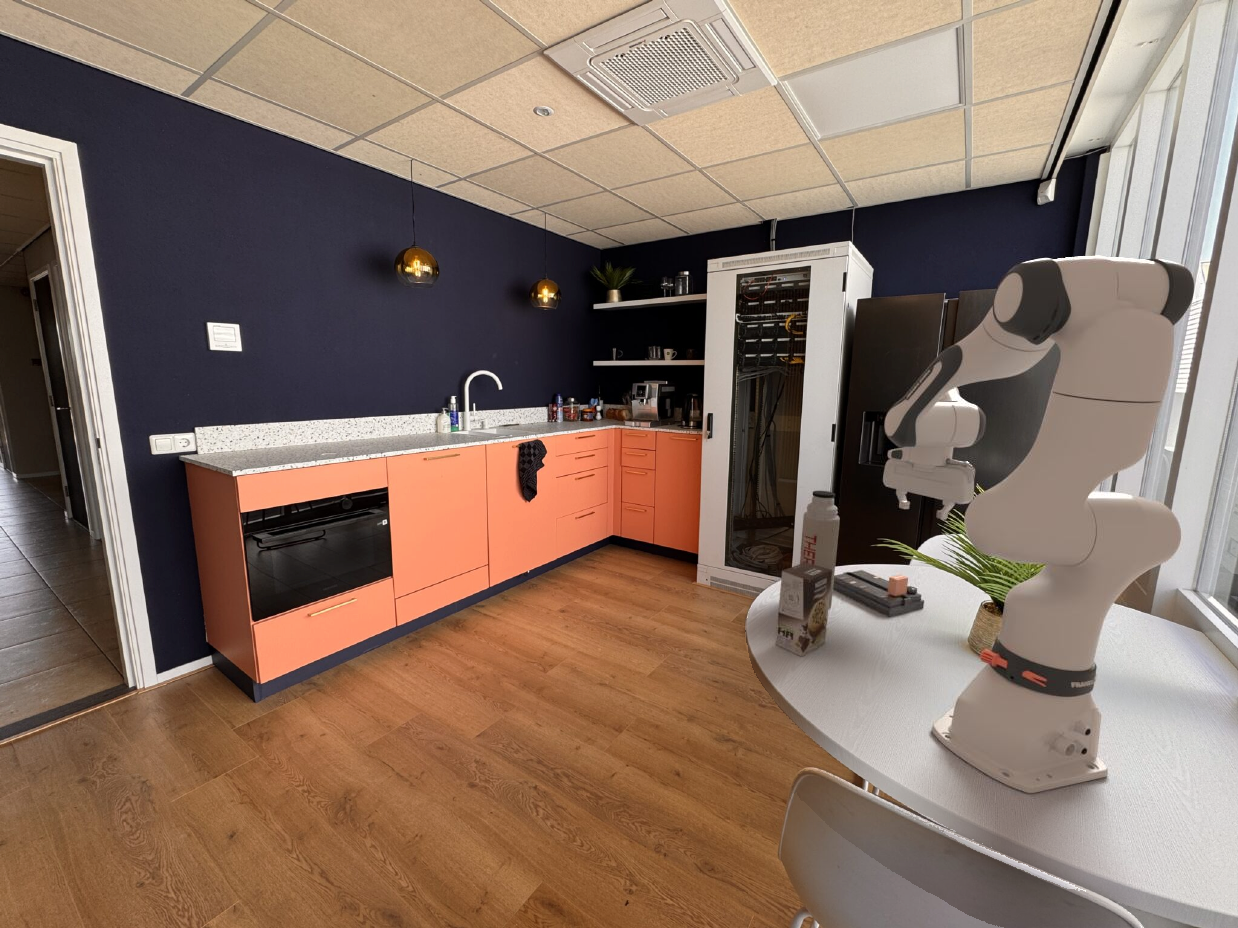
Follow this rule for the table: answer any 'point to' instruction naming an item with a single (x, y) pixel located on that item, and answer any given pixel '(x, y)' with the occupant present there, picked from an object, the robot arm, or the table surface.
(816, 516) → the thermos bottle
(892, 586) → the fader
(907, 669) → the table surface
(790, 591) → the coffee box
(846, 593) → the block
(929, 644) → the table surface
